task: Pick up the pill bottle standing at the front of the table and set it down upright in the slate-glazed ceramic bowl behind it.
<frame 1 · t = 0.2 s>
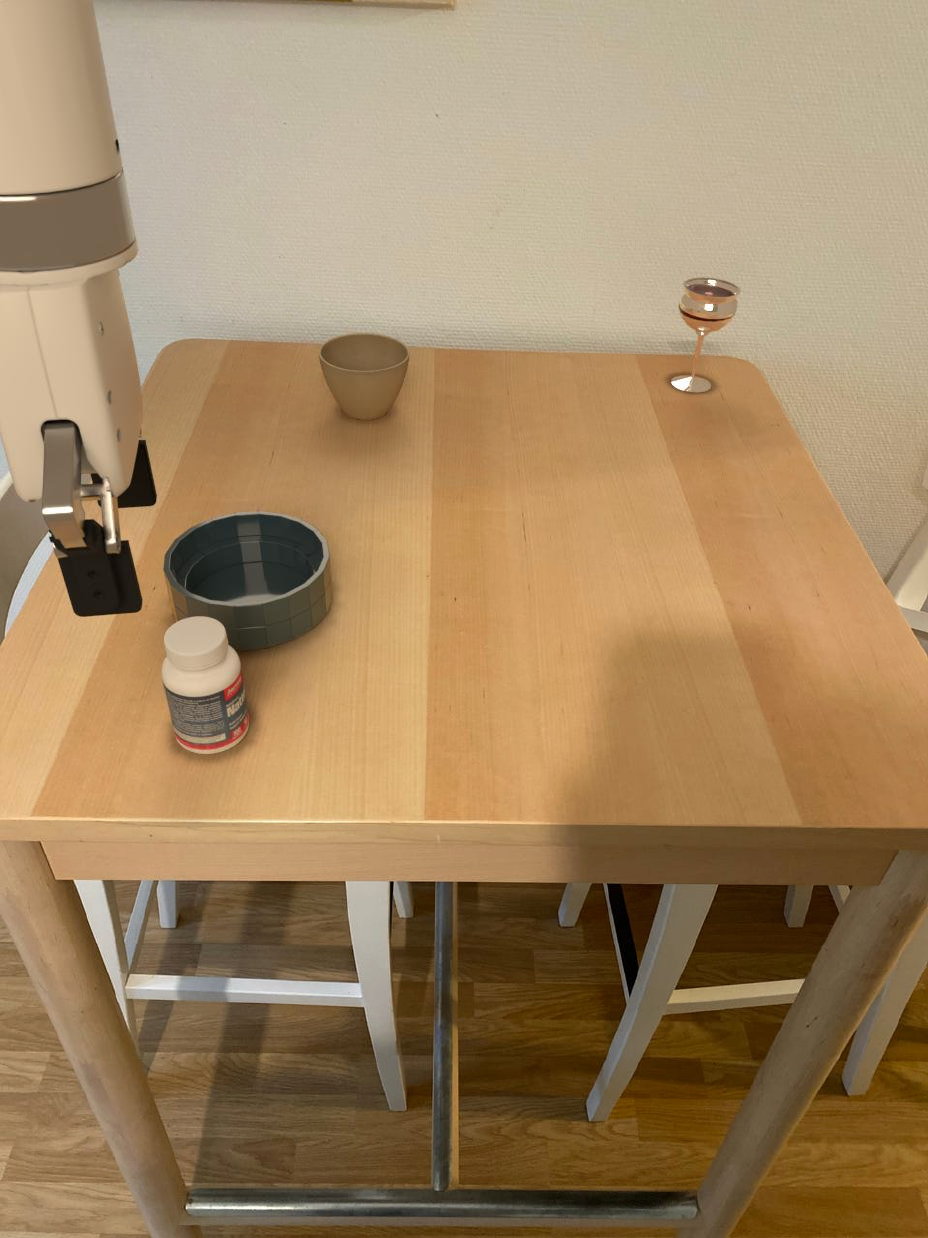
hand: (120, 554, 49), 19 cm above the table, tool pointing down, fingers open, 9 cm apart
flower pot: (366, 411, 104), on the table
wineglass: (690, 384, 113), on the table
pill bottle: (213, 730, 65), on the table
bowl: (254, 603, 76), on the table
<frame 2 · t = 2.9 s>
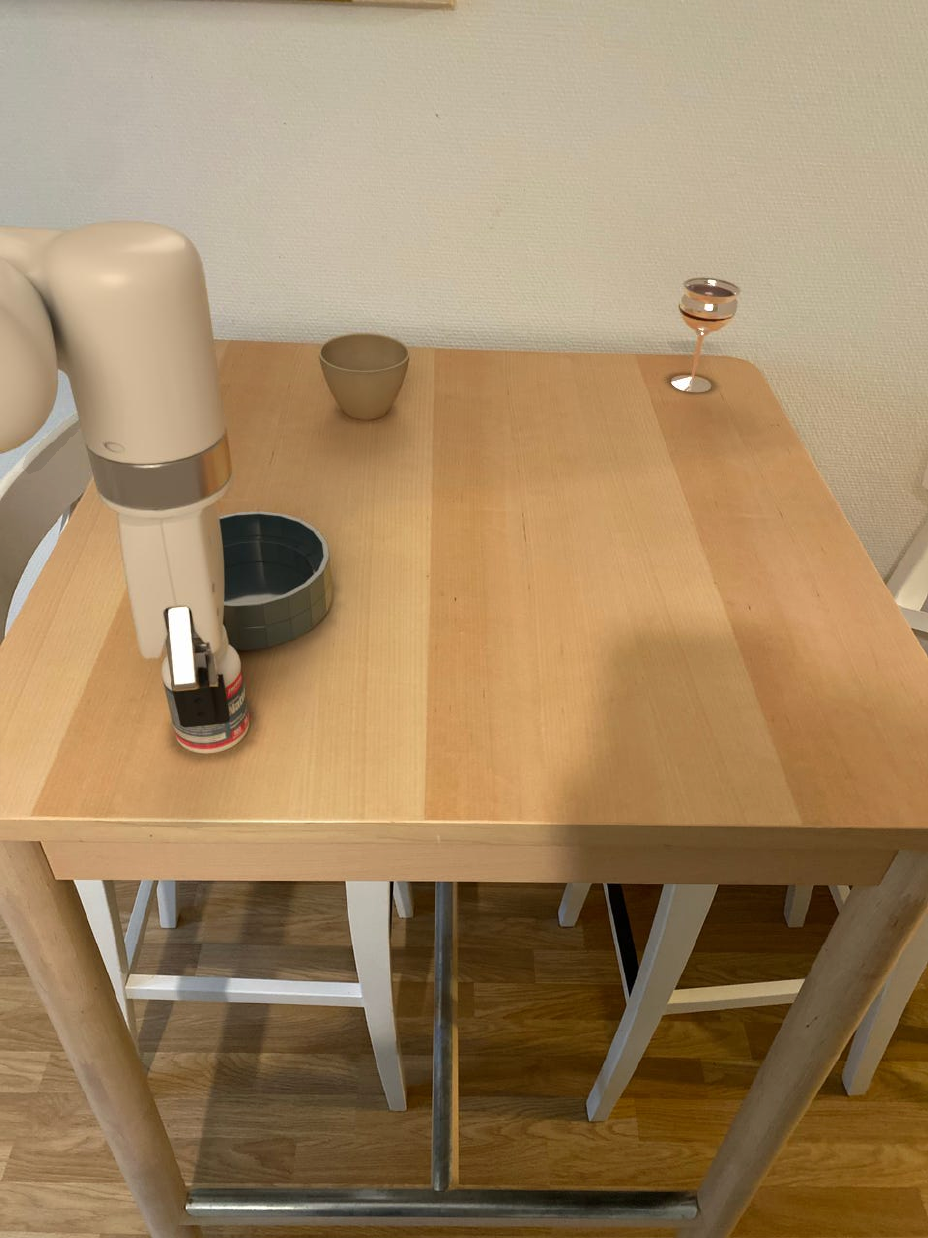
hand: (206, 689, 63), 4 cm above the table, tool pointing down, fingers closed on pill bottle, 5 cm apart
pill bottle: (213, 730, 65), on the table, touching gripper
everything else where it was.
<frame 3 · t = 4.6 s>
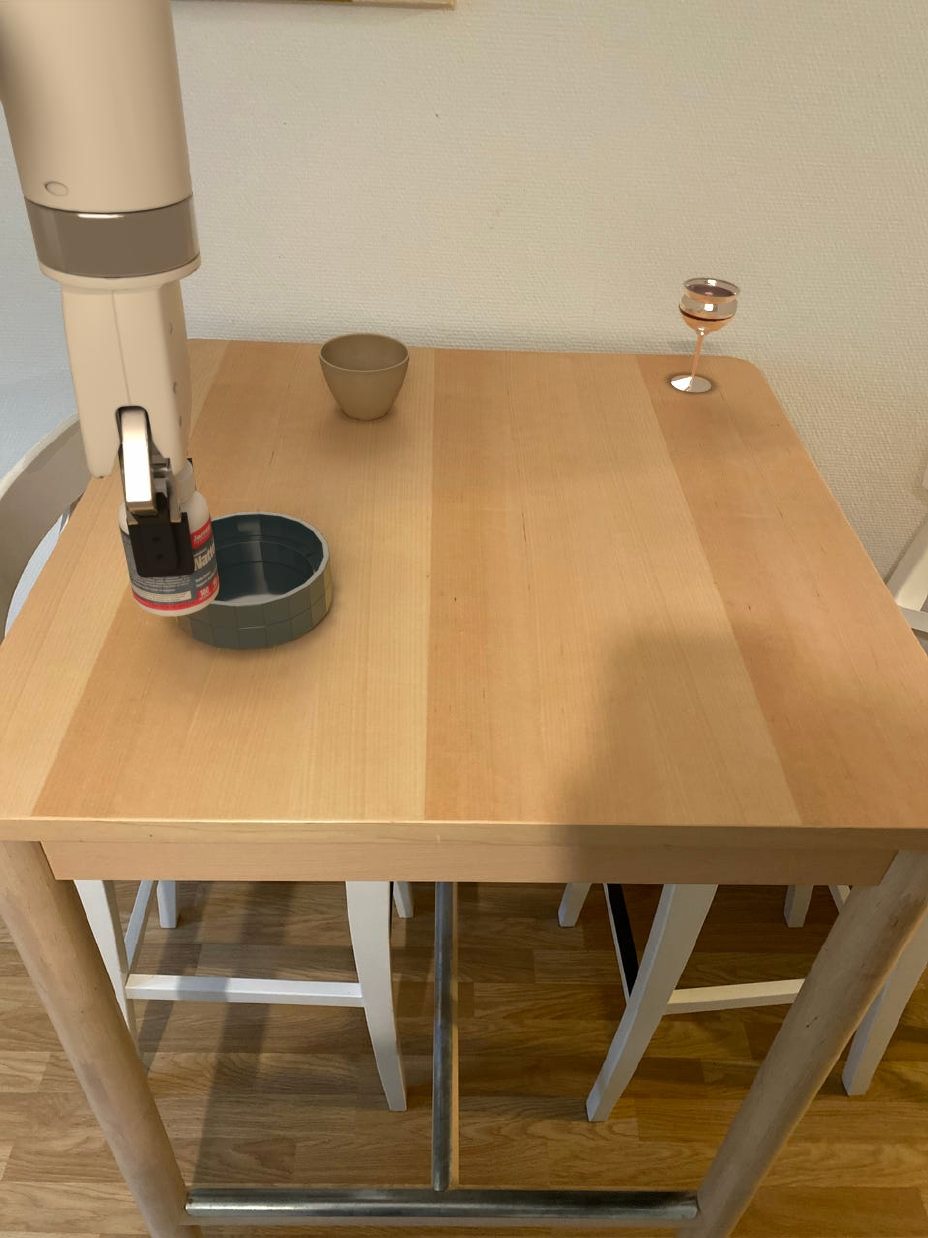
hand: (170, 541, 55), 16 cm above the table, tool pointing down, fingers closed on pill bottle, 5 cm apart
pill bottle: (178, 595, 57), point 12 cm above the table, touching gripper
everything else where it was.
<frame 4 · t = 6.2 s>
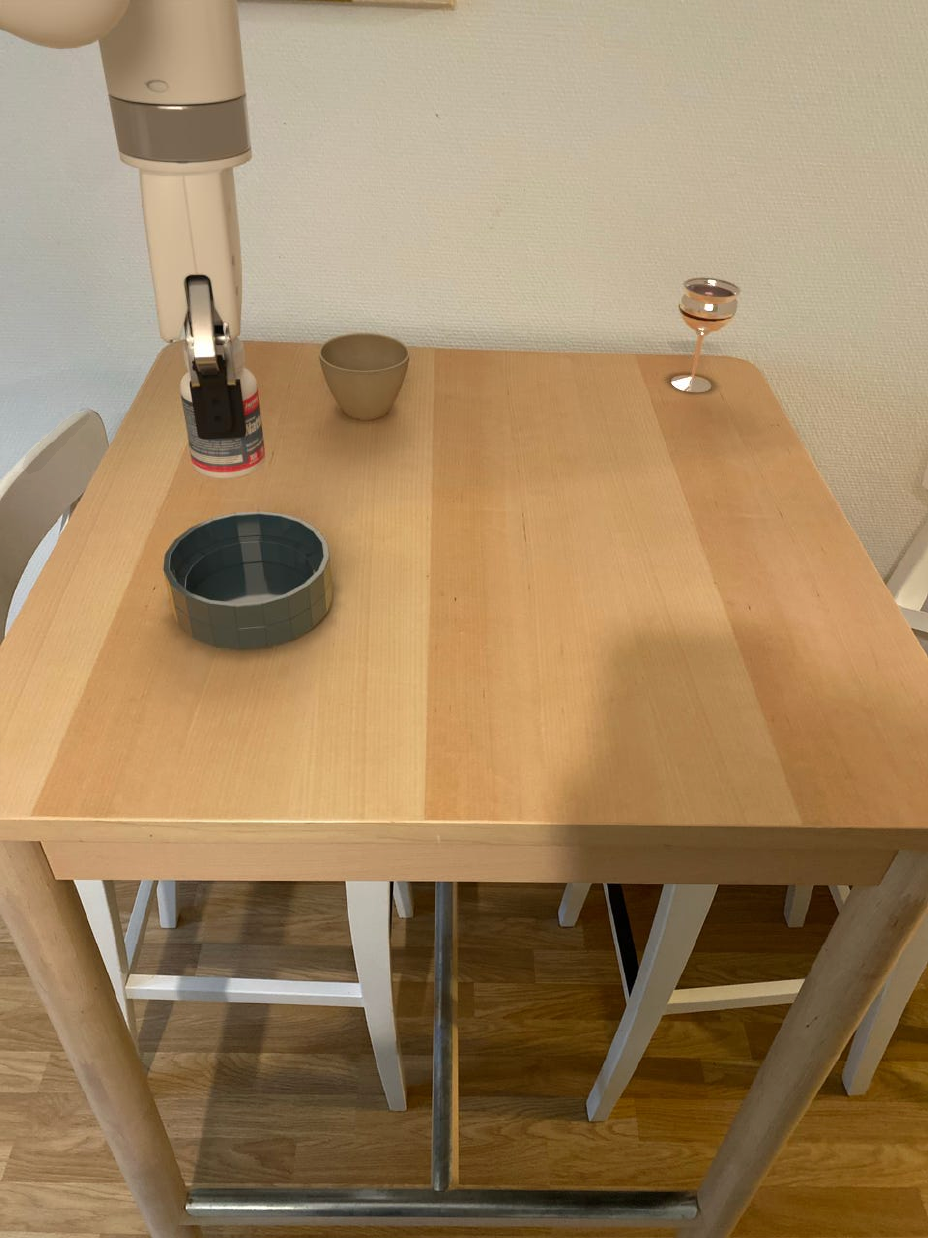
hand: (223, 413, 64), 18 cm above the table, tool pointing down, fingers closed on pill bottle, 5 cm apart
pill bottle: (229, 464, 66), point 14 cm above the table, touching gripper
everything else where it was.
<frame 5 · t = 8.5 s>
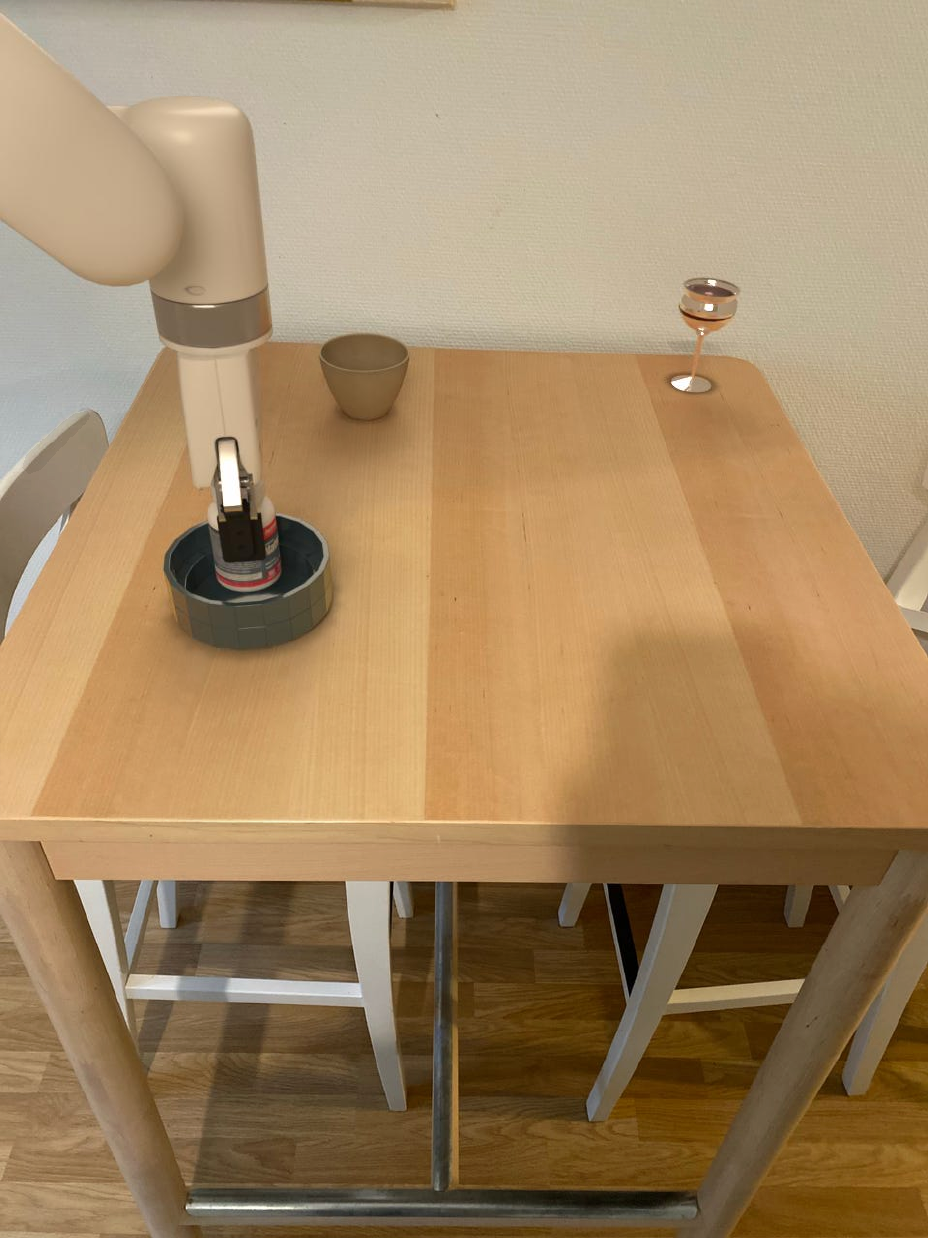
hand: (244, 535, 72), 7 cm above the table, tool pointing down, fingers closed on pill bottle, 5 cm apart
pill bottle: (250, 576, 74), point 3 cm above the table, touching gripper
everything else where it was.
when the fingers open (4 cm above the table, at t = 9.7 s): pill bottle stays where it is, resting on bowl.
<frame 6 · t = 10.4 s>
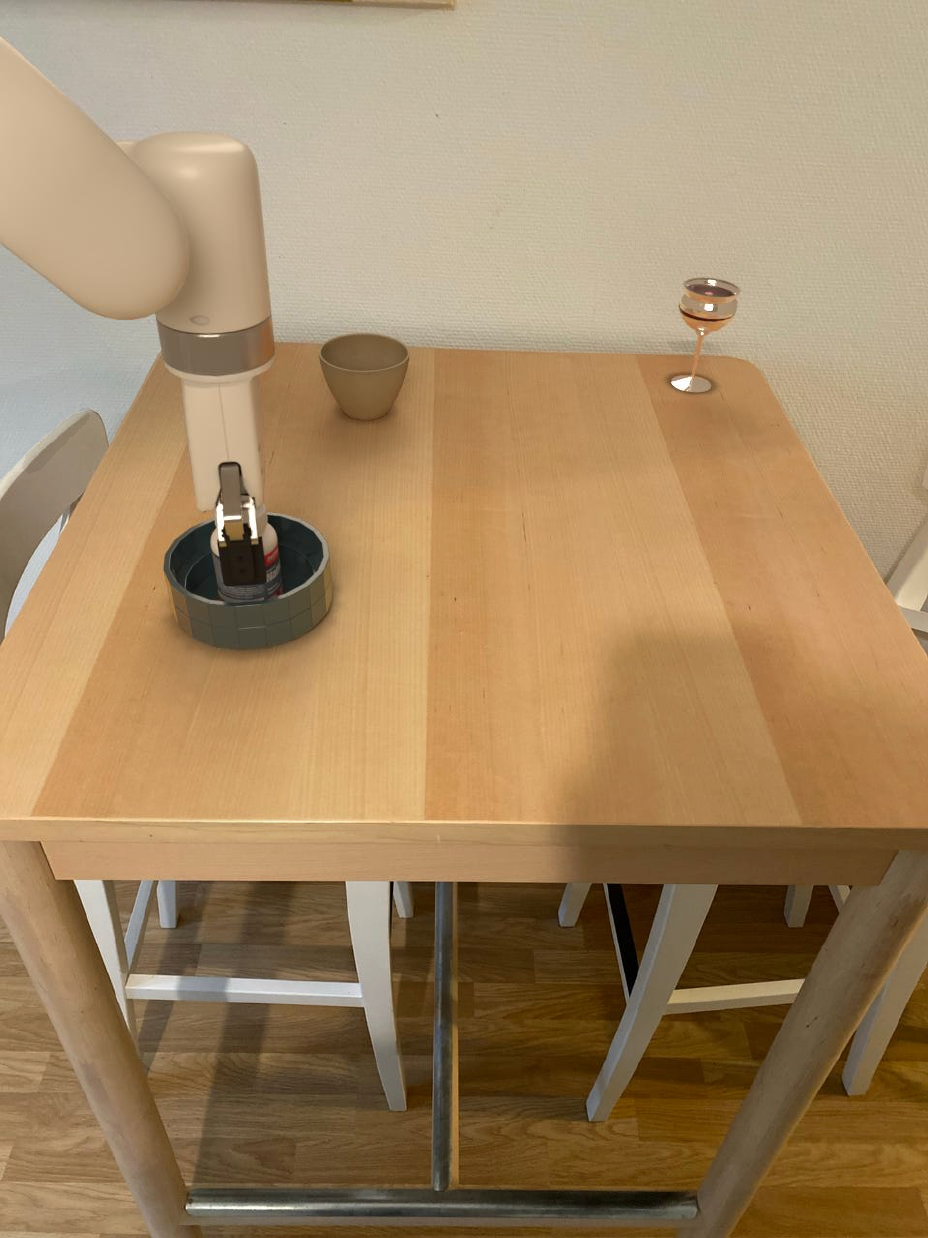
hand: (245, 546, 72), 6 cm above the table, tool pointing down, fingers open, 9 cm apart
pill bottle: (252, 600, 76), resting on bowl
everything else where it was.
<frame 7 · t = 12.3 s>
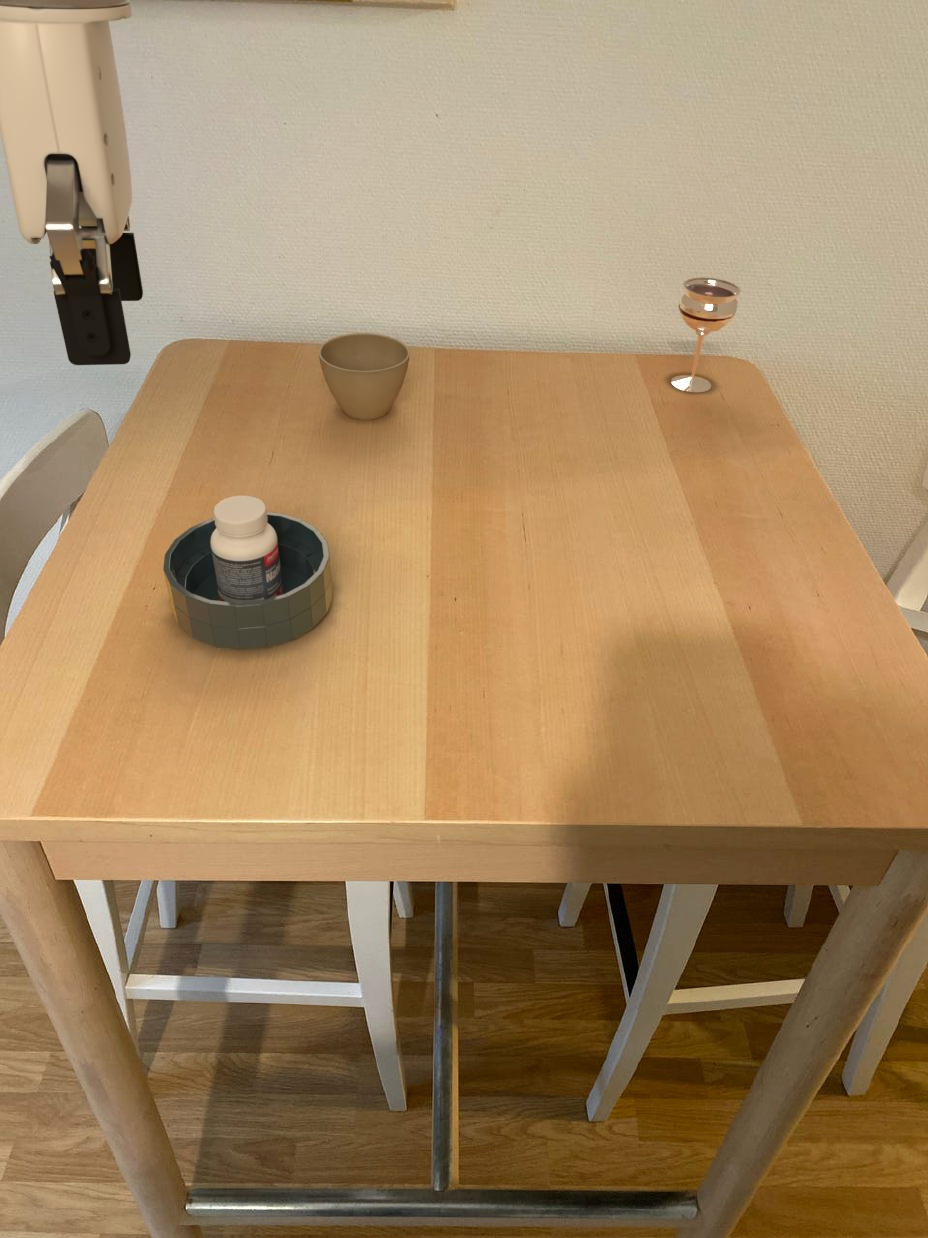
hand: (109, 328, 54), 26 cm above the table, tool pointing down, fingers open, 9 cm apart
nothing on the table moved.
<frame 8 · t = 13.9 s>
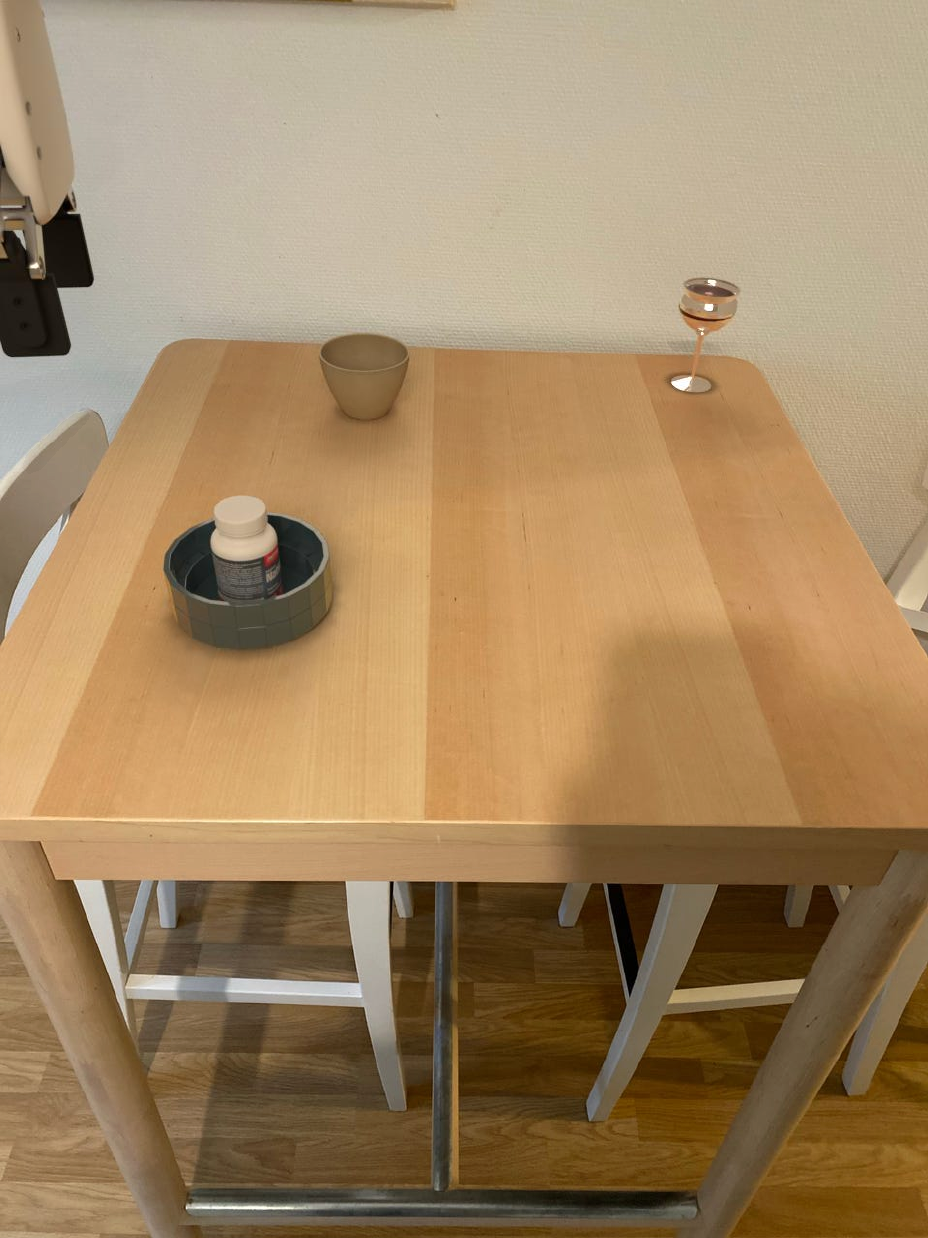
hand: (53, 317, 50), 28 cm above the table, tool pointing down, fingers open, 9 cm apart
nothing on the table moved.
at the end: pill bottle inside the target area in the bowl (0.1 cm from its centre), point 0.4 cm above the bowl's base; pill bottle tilted 0°; the gripper is holding nothing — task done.
